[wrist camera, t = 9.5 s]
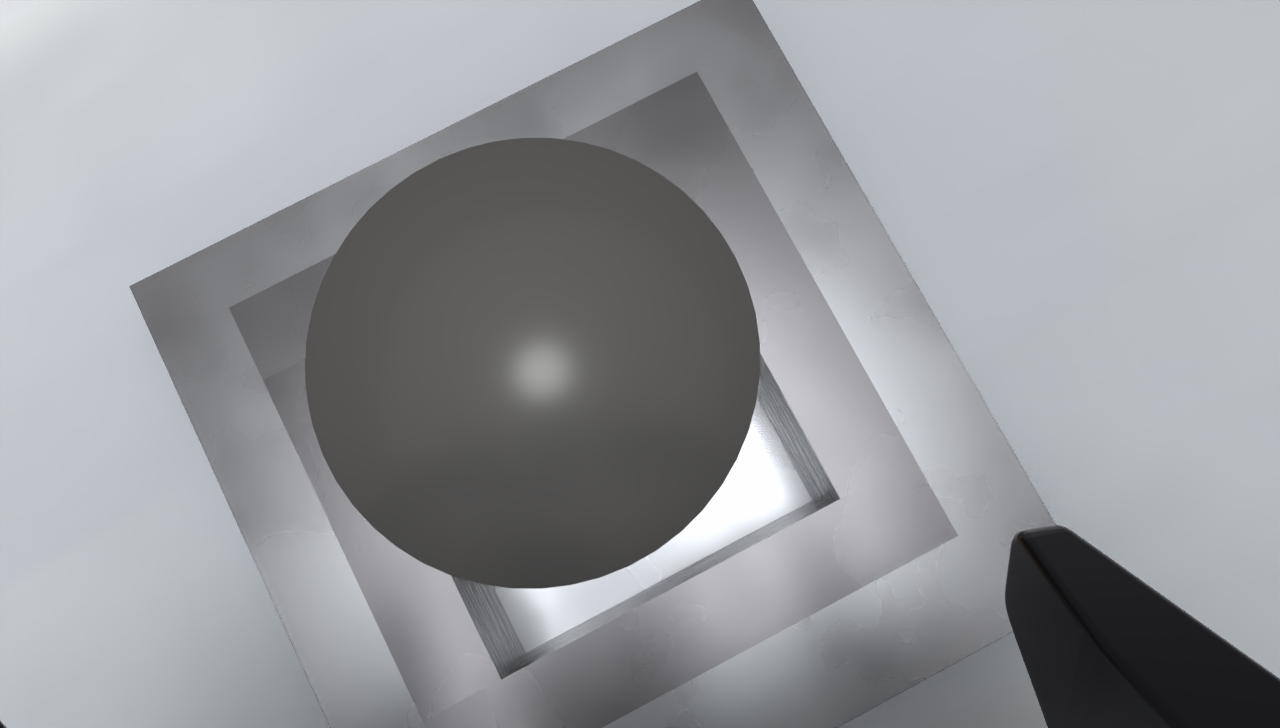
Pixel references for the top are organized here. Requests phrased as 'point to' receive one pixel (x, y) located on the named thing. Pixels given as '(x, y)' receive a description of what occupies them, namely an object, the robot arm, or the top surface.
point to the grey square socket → (736, 515)
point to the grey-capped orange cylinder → (532, 363)
